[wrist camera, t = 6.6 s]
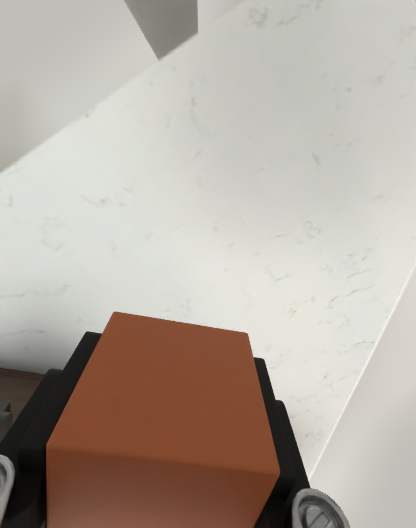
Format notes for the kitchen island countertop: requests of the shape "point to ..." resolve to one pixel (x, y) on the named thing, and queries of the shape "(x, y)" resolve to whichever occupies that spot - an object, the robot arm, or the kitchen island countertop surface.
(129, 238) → the kitchen island countertop surface
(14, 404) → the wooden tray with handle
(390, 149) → the kitchen island countertop surface
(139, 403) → the block
